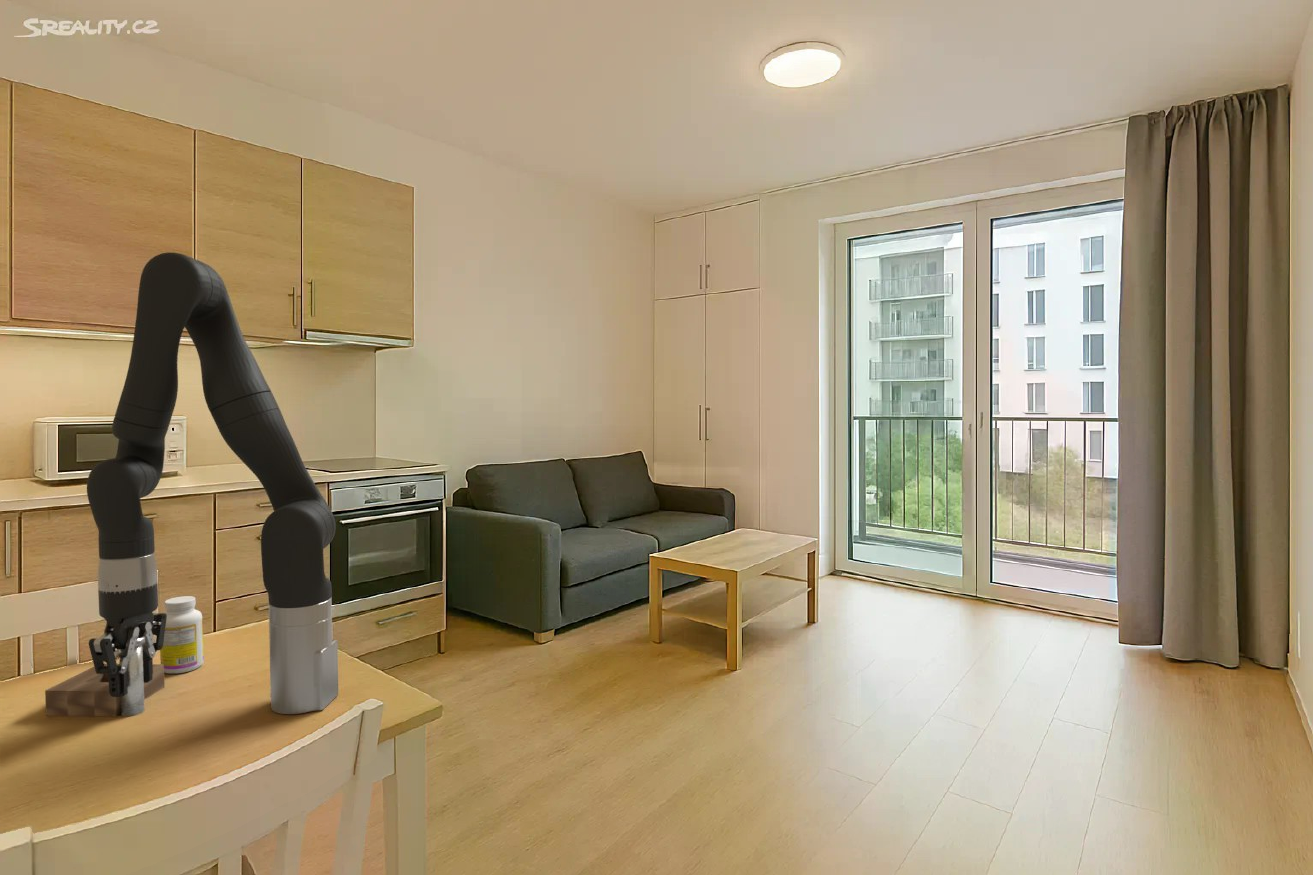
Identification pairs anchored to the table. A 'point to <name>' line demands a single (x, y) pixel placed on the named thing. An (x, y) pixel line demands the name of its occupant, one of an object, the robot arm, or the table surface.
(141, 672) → the pin
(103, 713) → the socket block
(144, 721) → the table surface
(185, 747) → the table surface
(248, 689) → the table surface
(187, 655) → the supplement bottle
